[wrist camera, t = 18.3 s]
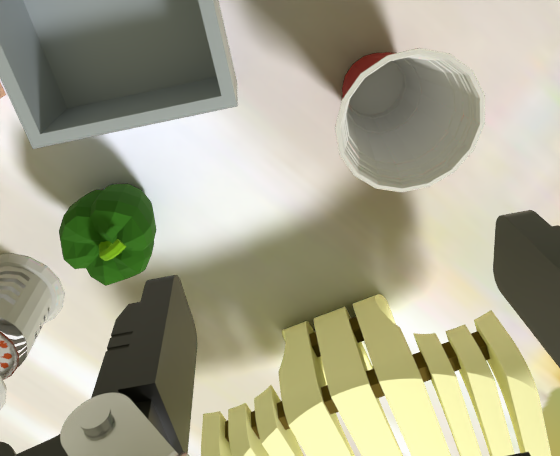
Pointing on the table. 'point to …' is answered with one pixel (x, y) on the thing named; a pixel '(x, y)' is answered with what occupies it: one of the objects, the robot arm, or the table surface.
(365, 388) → the slatted curved stool
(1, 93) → the terracotta tray
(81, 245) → the bell pepper
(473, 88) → the plastic cup
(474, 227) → the table surface
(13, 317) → the french press
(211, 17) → the grey tub
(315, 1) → the table surface
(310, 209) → the table surface
